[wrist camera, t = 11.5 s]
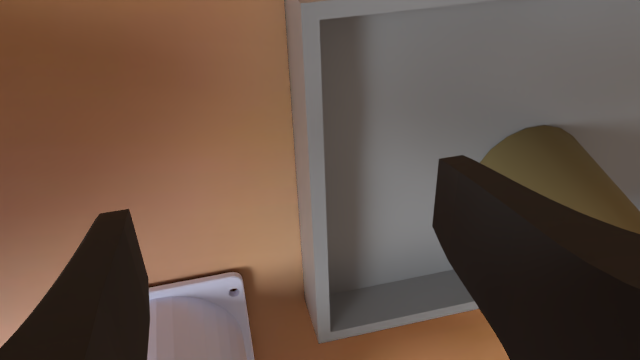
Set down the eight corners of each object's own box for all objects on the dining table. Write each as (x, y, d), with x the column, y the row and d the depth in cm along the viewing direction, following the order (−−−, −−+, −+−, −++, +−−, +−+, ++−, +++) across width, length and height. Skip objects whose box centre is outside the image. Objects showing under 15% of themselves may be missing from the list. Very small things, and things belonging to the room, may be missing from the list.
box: (670, 225, 33) (711, 257, 31) (304, 299, 29) (318, 343, 27) (782, -68, 24) (852, -55, 22) (282, -20, 20) (300, 3, 18)
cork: (576, 209, 30) (758, 381, 21) (469, 244, 29) (609, 436, 20) (585, 109, 26) (809, 266, 17) (464, 147, 26) (630, 329, 17)
